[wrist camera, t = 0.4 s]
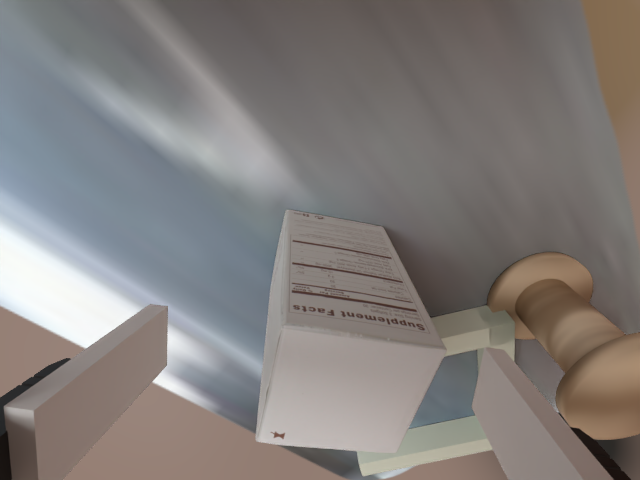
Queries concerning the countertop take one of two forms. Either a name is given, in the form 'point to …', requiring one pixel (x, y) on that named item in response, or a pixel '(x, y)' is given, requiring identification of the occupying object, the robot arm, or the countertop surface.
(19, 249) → the countertop surface
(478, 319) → the u-shaped bracket
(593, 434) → the bobbin
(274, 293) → the supplement box
